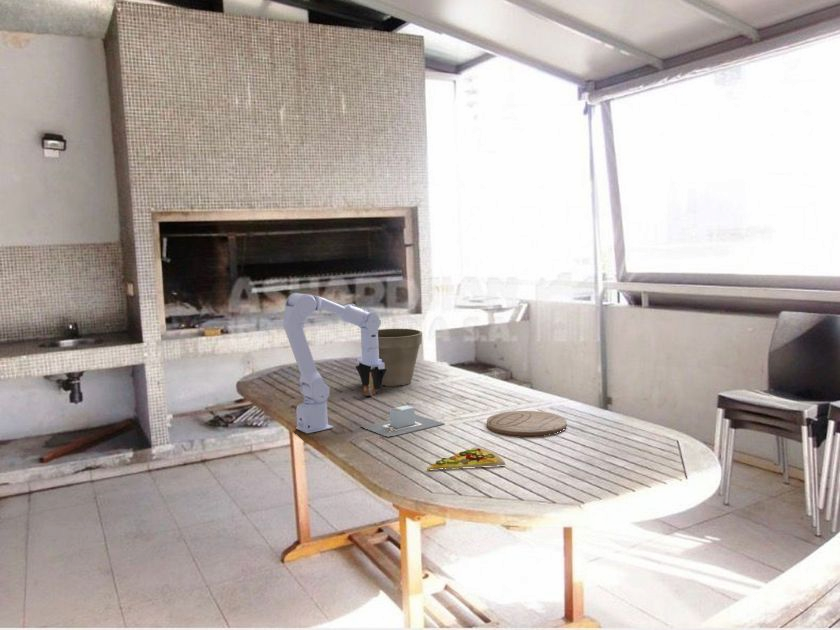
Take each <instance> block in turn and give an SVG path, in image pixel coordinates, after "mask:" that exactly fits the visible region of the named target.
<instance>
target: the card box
mask: <svg viewBox="0 0 840 630" xmlns="http://www.w3.org/2000/svg"><path fill="white" fill-rule="evenodd" d="M415 414H416V413H415V407H413V406H410V405H406V404H405V405H402V406H398V407H391V408H389V420H390V426H392V427H395V428H401V427H405V426H409V425H413V424H415Z"/></svg>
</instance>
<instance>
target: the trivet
mask: <svg viewBox="0 0 840 630" xmlns="http://www.w3.org/2000/svg"><path fill="white" fill-rule="evenodd" d="M567 425H568V423H567V419H566V418H564V417H563V416H561V415H559V414H555V413H550V412H545V411H534V410H517V411H516V410H514V411H513V410H512V411H507V412H500V413H496V414H494V415H491V416H489V417H488V418H487V419H486V428H487V429H488V430H489V431H491V432H493V433H494V434H498V435H503V436H509V437H515V436H520V437H519V438H536V437H535V436H541V437H545V436H544V435H549V434H554V433H557V432H560V431H562V430H563V429H565V428H566V426H567ZM567 427H568V426H567ZM566 429H567V428H566ZM566 429H565V430H566ZM562 432H563V431H562ZM560 433H561V432H560ZM557 434H558V433H557ZM554 435H555V434H554ZM549 436H550V435H549Z"/></svg>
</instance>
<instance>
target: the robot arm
mask: <svg viewBox="0 0 840 630" xmlns="http://www.w3.org/2000/svg"><path fill="white" fill-rule="evenodd" d="M284 308H285V310H284V315H283V316H284V317H283V322H282V323H283V329H284V330H285V333H286V336H287V339H288V342H289V345H290V348H291V350H292V354H293V356H294V359H295V362H296V365H297V367H298V370H299V373H300V376H299V382H300V387H299V389H300V393H301V395H302V396H303V402H302V403H300V404H297V406H296V414H295V415H296V430H299V431H301V432H303V433H305V434H311V433H315V432H320V431H325V430H330V429H333V428H334V426H333V425H331V424H328V423H329V421H328V420H329V419H328V398H329V396H330V391H331V390H330V387H329V385H328V384H326V382H325V381H324V378H323V377H322V376H321V374H320V373H319V372H318V369H317V366H316V364H315V363H316V362H315V361H314V358H313V355H312V352H311V349H310V347H309V343H308V340H307V338H306V335H305V332H304V329H303V325H304V323H305V321H306V320H307V319H308V317H310V316H311V315H312V314H313V313H314V311H320V310H323V311H325V312H329V313H332V314H335V315H338V316H340V319H341V321H342V322H343V321H344V322H346V323H349V324H351V325H353V326H354V325H355V326H357V327H358V328H360V345H361V347H360V348H361V357H358V358H357V359H356V360H357V364H358V365H355V369H356V371H357V372H358V375H359V377H360V381H361V384H362V387H363V386H367V385H369V378H370V373H371V375H372V378H373V385H374V389H375V390H377V389H378V390H380V389H382V388H381V387H382V385H381V384H382V380H383V377H384V374H385V372H386V371H387V369H386V368H385V364H384V363H383V362H381V361H382V359H379V349H378V330H379V329H380V327H381V324H382V323H381V322H382V320H380V317H379V316H378V314H377V313H374V312H369V311H368V309H367V308H360V307H357V305H356V304H354V303H350V304H345V305H341V304H338V303H336V302H334V301H332V300H329V299H326V298H324V297H322V296H318V295H312V294H310V293H301V292H293V293H291V294H290V295H289V296H288V297H287V299H286V300H285V302H284ZM372 367H375V369H372Z"/></svg>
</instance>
